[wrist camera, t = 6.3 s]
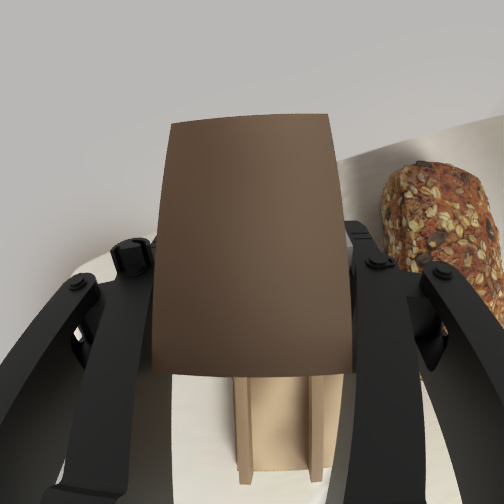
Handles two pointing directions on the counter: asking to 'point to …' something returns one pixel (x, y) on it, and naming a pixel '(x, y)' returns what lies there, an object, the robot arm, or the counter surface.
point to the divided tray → (286, 423)
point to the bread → (444, 227)
